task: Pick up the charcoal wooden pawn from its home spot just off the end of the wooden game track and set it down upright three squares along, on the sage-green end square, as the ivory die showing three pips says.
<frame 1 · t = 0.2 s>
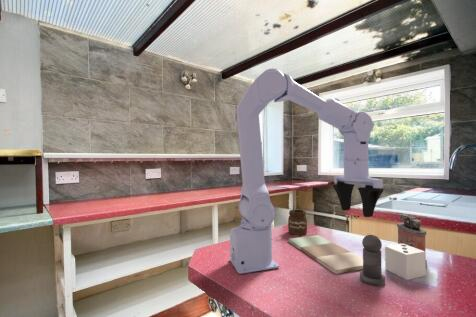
hand: (356, 213, 64), 10 cm above the countertop, tool pointing down, fingers open, 7 cm apart
lighter: (411, 259, 59), on the countertop
die: (404, 272, 52), on the countertop
pawn: (372, 280, 49), on the countertop
utensil holder: (298, 233, 81), on the countertop
game track: (325, 252, 64), on the countertop
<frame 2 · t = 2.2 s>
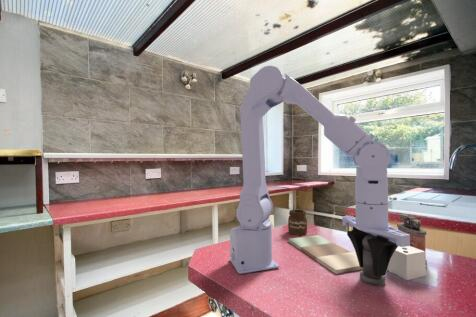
hand: (372, 270, 49), 2 cm above the countertop, tool pointing down, fingers closed on pawn, 3 cm apart
pawn: (372, 280, 49), on the countertop, touching gripper
everything else where it was.
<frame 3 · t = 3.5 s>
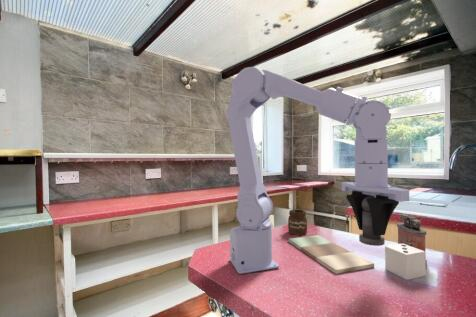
hand: (371, 232, 49), 10 cm above the countertop, tool pointing down, fingers closed on pawn, 3 cm apart
pawn: (371, 241, 49), point 8 cm above the countertop, touching gripper
everything else where it was.
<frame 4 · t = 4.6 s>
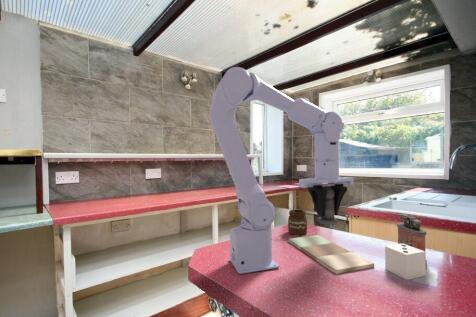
hand: (327, 214, 63), 10 cm above the countertop, tool pointing down, fingers closed on pawn, 3 cm apart
pawn: (327, 222, 63), point 8 cm above the countertop, touching gripper
everything else where it was.
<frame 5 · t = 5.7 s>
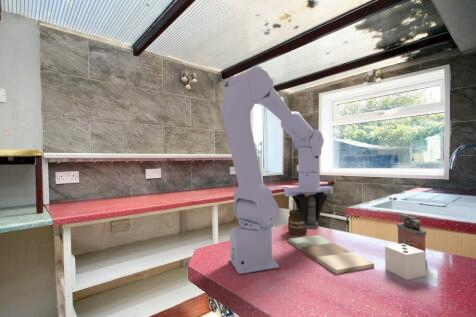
hand: (309, 220, 70), 7 cm above the countertop, tool pointing down, fingers closed on pawn, 3 cm apart
pawn: (310, 227, 70), point 5 cm above the countertop, touching gripper
everything else where it was.
when the fingers open (4 cm above the countertop, at t = 6.9 s): pawn drops 1 cm, resting on game track.
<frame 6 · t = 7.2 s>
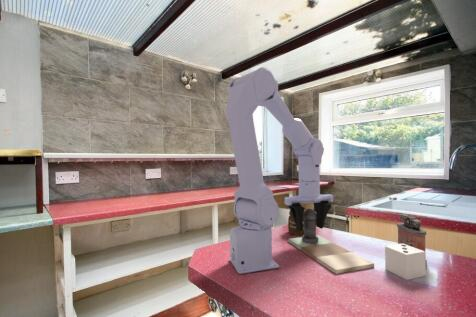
hand: (309, 228, 70), 4 cm above the countertop, tool pointing down, fingers open, 6 cm apart
pawn: (310, 240, 70), point 1 cm above the countertop, touching game track
everything else where it was.
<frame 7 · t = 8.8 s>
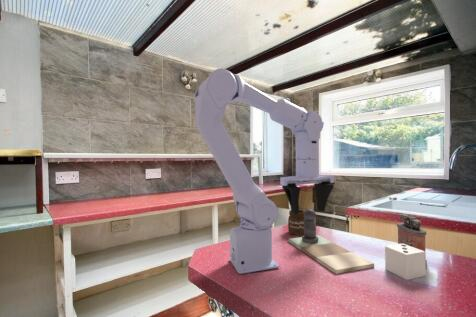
hand: (308, 212, 64), 10 cm above the countertop, tool pointing down, fingers open, 7 cm apart
nothing on the countertop moved.
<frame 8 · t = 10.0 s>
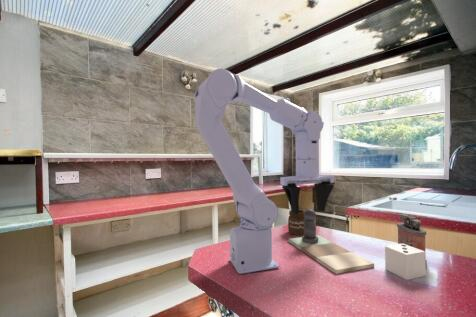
hand: (308, 212, 64), 10 cm above the countertop, tool pointing down, fingers open, 7 cm apart
nothing on the countertop moved.
at the end: pawn 0.1 cm from the target spot, point 0.8 cm above the countertop; pawn tilted 0°; the gripper is holding nothing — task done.
